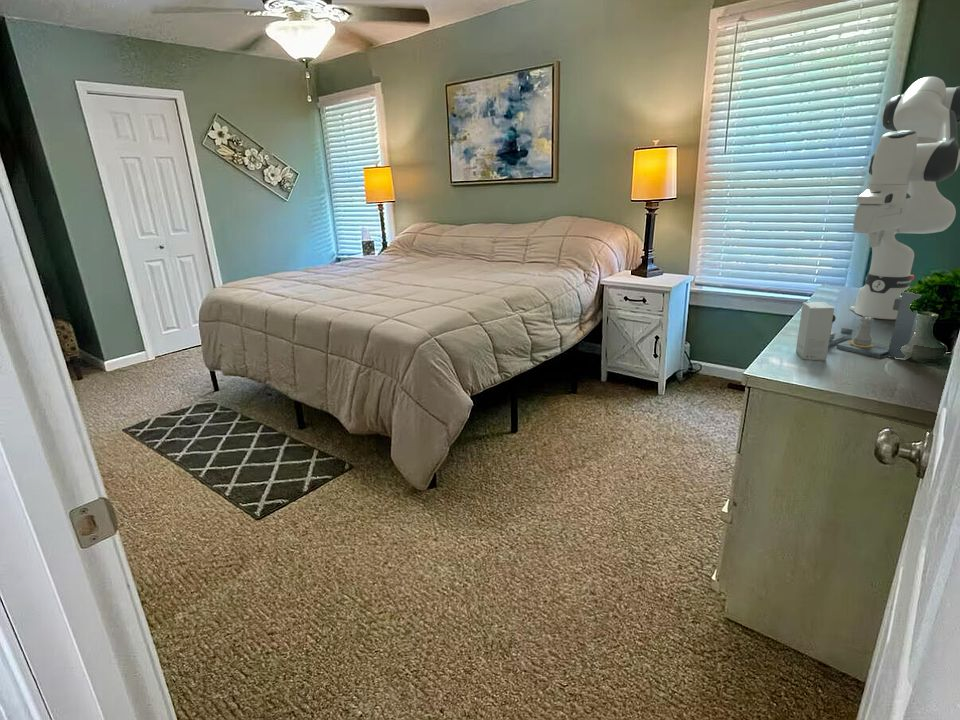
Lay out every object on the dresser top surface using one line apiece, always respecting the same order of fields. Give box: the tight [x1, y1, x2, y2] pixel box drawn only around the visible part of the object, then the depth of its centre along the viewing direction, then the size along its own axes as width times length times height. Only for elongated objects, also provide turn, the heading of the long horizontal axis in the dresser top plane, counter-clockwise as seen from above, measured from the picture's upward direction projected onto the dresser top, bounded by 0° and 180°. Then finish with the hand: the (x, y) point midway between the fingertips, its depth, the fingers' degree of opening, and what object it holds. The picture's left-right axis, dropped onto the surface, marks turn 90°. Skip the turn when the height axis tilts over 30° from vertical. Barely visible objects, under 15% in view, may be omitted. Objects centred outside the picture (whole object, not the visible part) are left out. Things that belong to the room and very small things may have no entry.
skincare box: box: [795, 301, 835, 362], centre depth 141 cm, size 8×6×15 cm
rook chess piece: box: [853, 315, 875, 345], centre depth 145 cm, size 4×4×8 cm
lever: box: [829, 314, 837, 341], centre depth 149 cm, size 4×3×8 cm
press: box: [828, 291, 922, 359], centre depth 143 cm, size 15×20×18 cm
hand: (874, 246), depth 143 cm, fingers closed
